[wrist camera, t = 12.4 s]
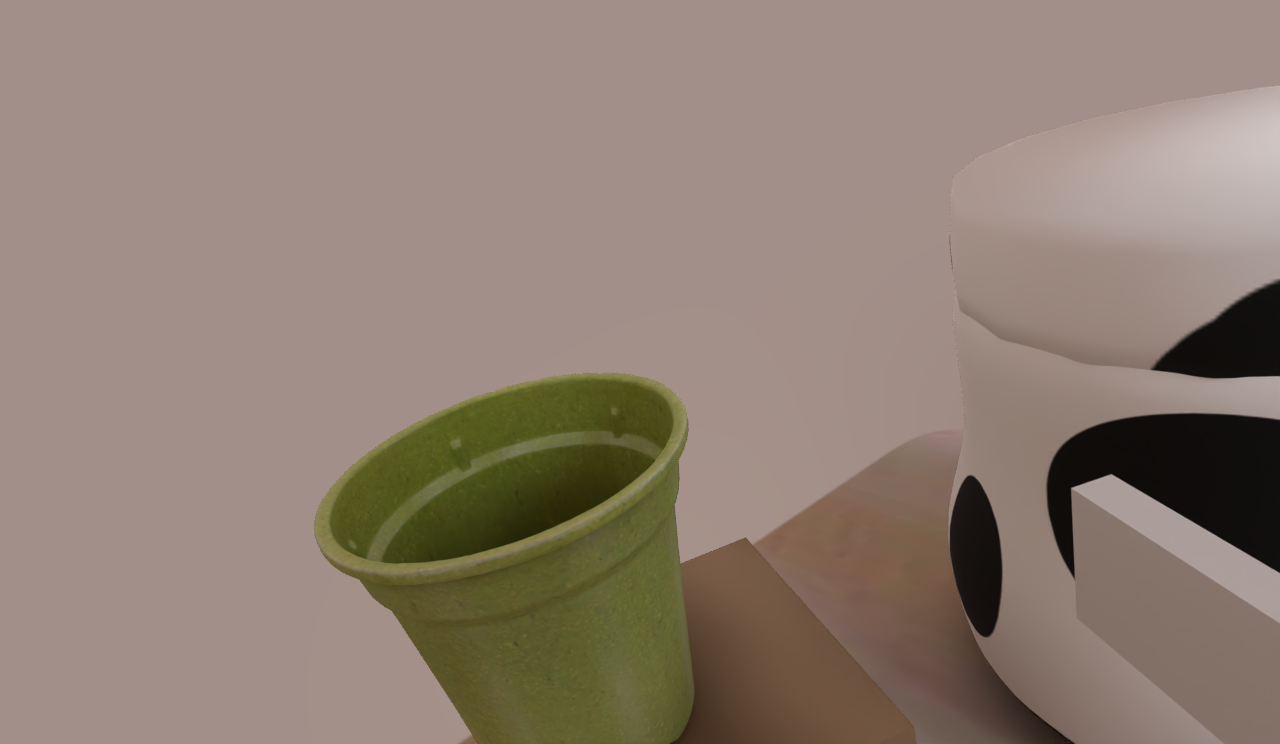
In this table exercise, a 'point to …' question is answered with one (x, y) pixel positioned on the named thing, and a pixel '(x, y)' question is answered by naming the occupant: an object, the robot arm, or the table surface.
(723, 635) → the walnut block
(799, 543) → the table surface
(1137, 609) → the robot arm
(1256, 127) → the milk container
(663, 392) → the plant pot
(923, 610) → the table surface
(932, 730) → the table surface
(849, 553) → the table surface
